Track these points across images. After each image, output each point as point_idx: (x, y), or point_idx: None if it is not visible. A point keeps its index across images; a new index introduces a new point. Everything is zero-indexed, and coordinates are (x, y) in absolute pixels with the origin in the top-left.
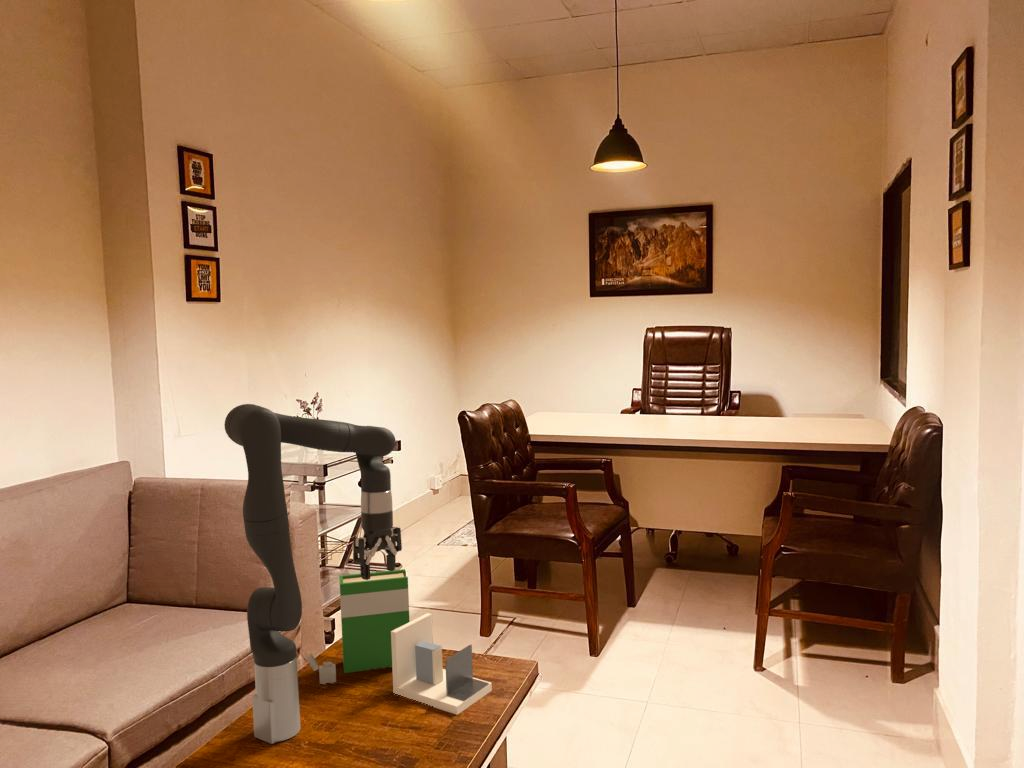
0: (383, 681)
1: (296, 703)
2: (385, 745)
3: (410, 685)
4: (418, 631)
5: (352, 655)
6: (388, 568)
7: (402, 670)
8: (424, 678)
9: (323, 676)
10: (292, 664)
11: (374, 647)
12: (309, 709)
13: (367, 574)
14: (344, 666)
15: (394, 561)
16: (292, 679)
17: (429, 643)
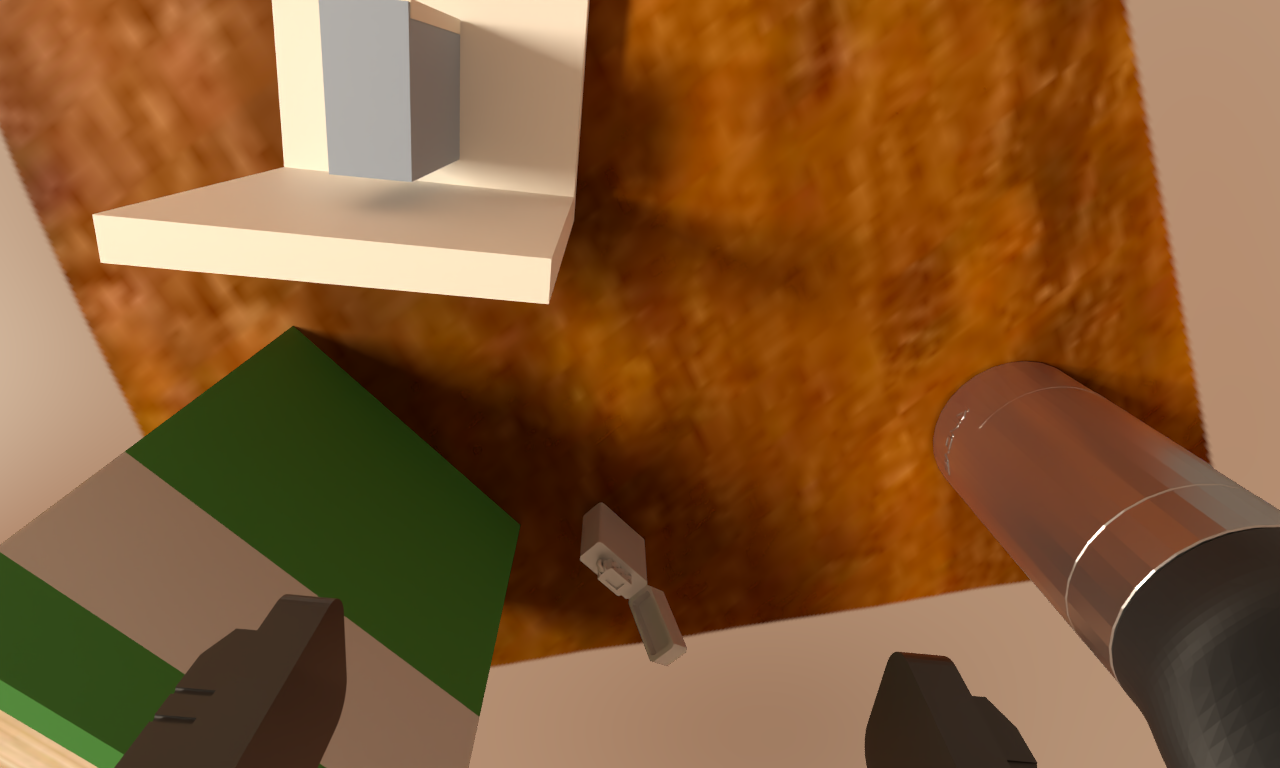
0: (497, 337)
1: (1070, 413)
2: None
3: (525, 149)
4: (311, 217)
5: (480, 544)
6: (334, 695)
7: (525, 203)
8: (455, 101)
9: (636, 550)
10: (1238, 514)
11: (394, 491)
12: (826, 448)
13: (978, 730)
14: (514, 540)
15: (209, 716)
16: (1179, 470)
17: (335, 103)
